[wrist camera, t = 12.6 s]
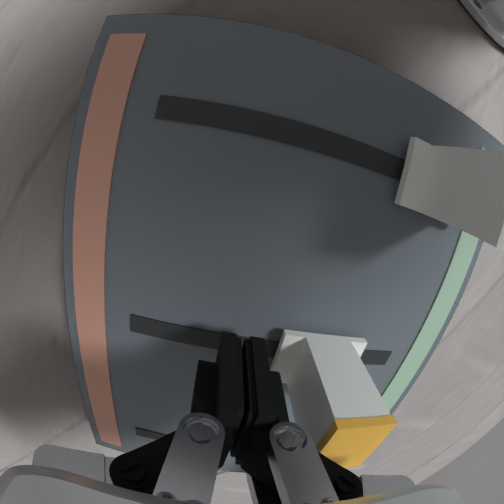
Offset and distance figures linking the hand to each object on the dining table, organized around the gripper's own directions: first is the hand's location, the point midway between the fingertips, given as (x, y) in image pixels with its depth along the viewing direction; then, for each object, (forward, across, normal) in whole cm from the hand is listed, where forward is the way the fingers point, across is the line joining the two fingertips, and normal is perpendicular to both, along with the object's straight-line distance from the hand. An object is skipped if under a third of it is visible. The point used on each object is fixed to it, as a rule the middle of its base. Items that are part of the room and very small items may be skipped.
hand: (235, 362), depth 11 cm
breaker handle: (+1, -7, -9) cm, 11 cm away
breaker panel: (+4, -2, 0) cm, 5 cm away
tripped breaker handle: (+1, -4, 0) cm, 4 cm away
